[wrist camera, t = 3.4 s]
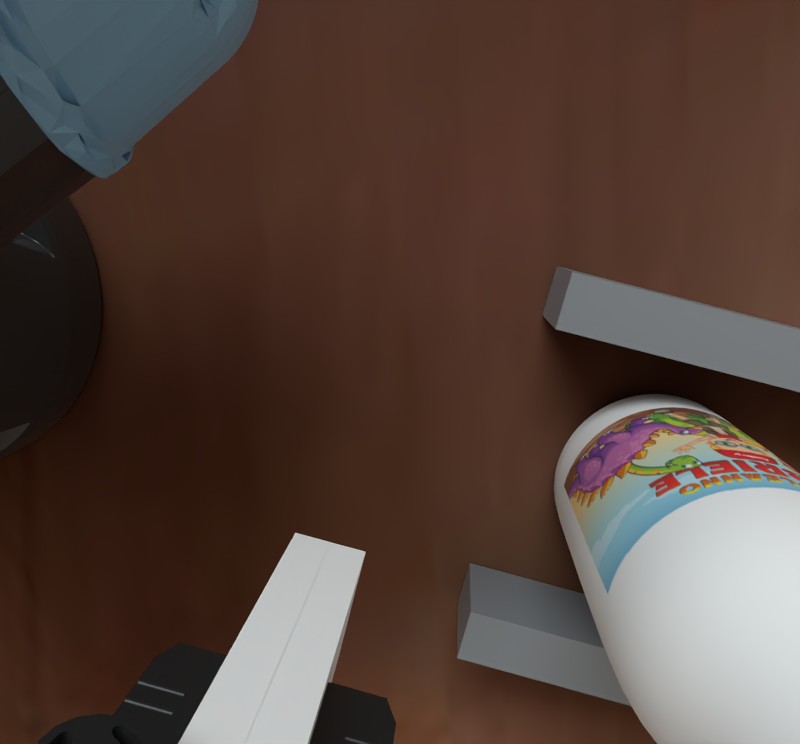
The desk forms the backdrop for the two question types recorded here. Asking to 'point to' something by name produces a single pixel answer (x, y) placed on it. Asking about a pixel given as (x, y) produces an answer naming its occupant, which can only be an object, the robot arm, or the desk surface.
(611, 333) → the bottle rest
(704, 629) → the milk bottle
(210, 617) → the desk surface
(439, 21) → the desk surface
